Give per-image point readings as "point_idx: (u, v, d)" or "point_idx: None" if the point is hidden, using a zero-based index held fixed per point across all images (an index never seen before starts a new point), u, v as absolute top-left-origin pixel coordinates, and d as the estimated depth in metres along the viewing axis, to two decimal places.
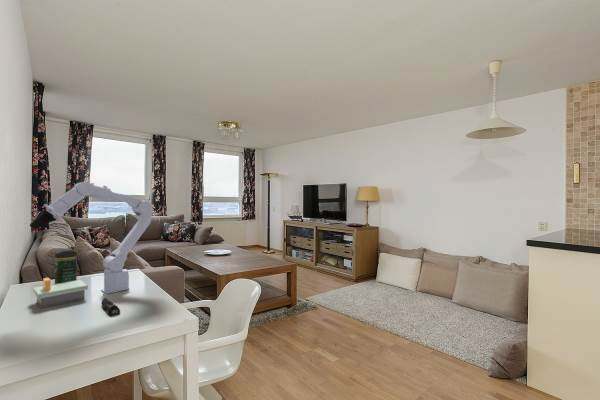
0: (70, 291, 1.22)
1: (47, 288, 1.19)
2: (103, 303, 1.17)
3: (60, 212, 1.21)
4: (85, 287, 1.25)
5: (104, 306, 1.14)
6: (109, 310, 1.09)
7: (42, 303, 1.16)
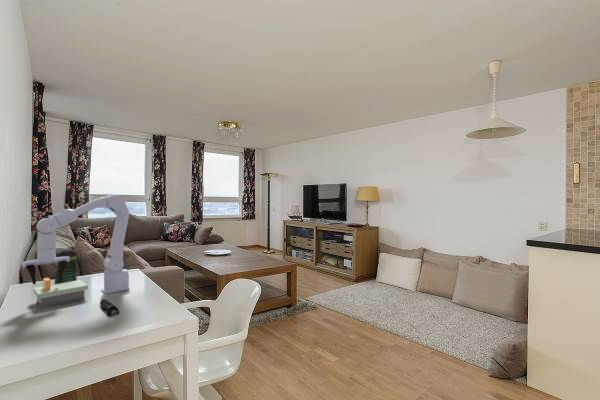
0: (70, 291, 1.22)
1: (47, 288, 1.19)
2: (102, 303, 1.16)
3: (40, 258, 1.18)
4: (85, 287, 1.25)
5: (103, 306, 1.14)
6: (108, 310, 1.09)
7: (42, 303, 1.16)
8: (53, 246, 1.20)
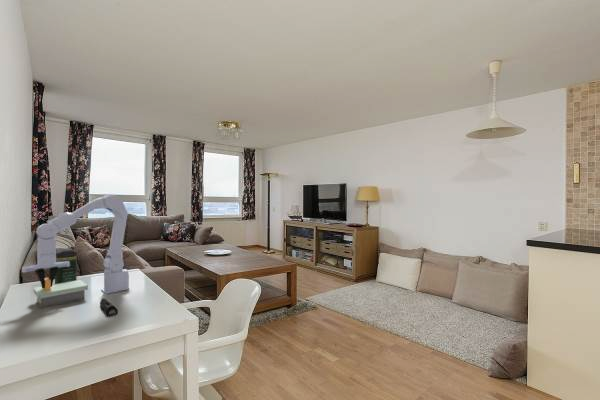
0: (70, 291, 1.22)
1: (47, 288, 1.19)
2: (101, 303, 1.16)
3: (40, 264, 1.18)
4: (85, 287, 1.25)
5: (102, 306, 1.14)
6: (107, 310, 1.09)
7: (42, 303, 1.16)
8: (53, 251, 1.20)
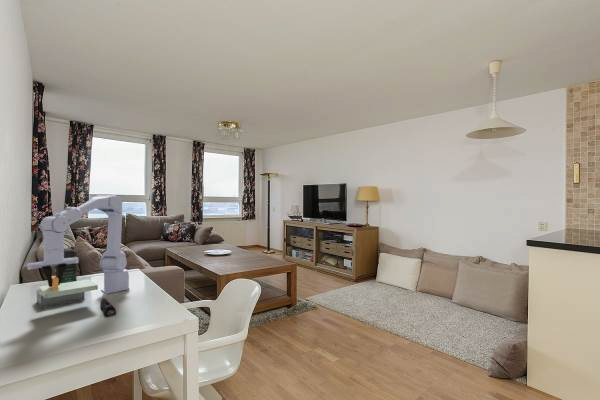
0: (79, 291, 1.12)
1: (54, 287, 1.09)
2: (101, 303, 1.16)
3: (46, 260, 1.08)
4: (95, 287, 1.15)
5: (102, 306, 1.14)
6: (105, 311, 1.09)
7: (42, 303, 1.16)
8: (63, 246, 1.12)
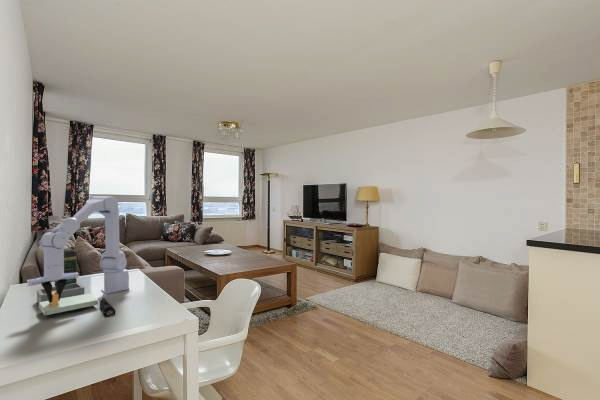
0: (79, 306, 1.12)
1: (54, 303, 1.09)
2: (101, 303, 1.16)
3: (47, 276, 1.08)
4: (95, 302, 1.16)
5: (101, 306, 1.14)
6: (104, 311, 1.09)
7: None
8: (63, 261, 1.12)
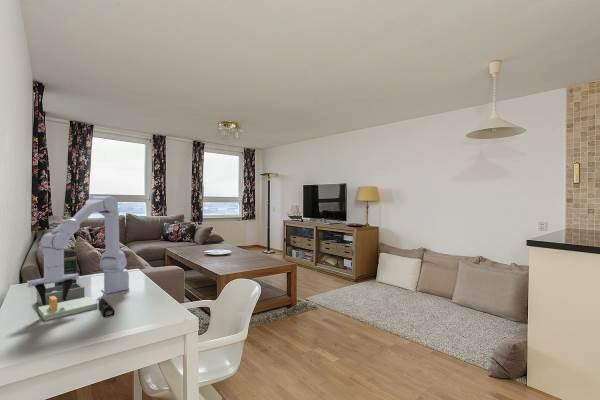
0: (79, 310, 1.12)
1: (54, 308, 1.09)
2: (100, 304, 1.16)
3: (47, 277, 1.08)
4: (95, 305, 1.15)
5: (100, 307, 1.14)
6: (103, 311, 1.08)
7: None
8: (63, 262, 1.12)
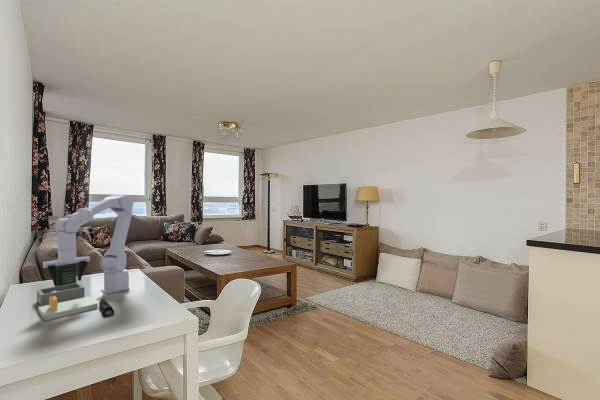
0: (79, 310, 1.12)
1: (54, 308, 1.09)
2: (100, 303, 1.16)
3: (60, 259, 1.15)
4: (95, 305, 1.15)
5: (100, 306, 1.14)
6: (103, 311, 1.08)
7: (42, 303, 1.16)
8: (75, 245, 1.19)
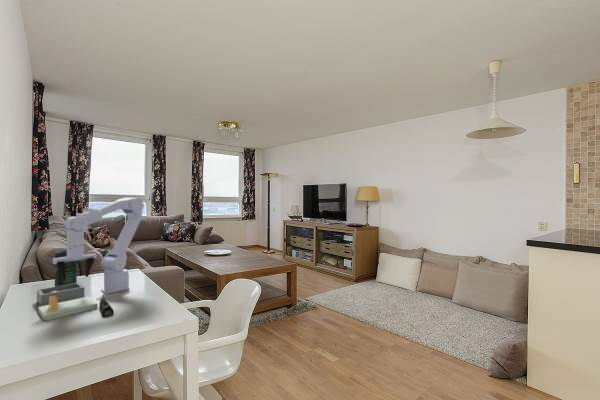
0: (79, 310, 1.12)
1: (54, 308, 1.09)
2: (100, 303, 1.16)
3: (69, 255, 1.21)
4: (95, 305, 1.15)
5: (100, 307, 1.14)
6: (102, 311, 1.08)
7: (42, 303, 1.16)
8: (83, 243, 1.24)
